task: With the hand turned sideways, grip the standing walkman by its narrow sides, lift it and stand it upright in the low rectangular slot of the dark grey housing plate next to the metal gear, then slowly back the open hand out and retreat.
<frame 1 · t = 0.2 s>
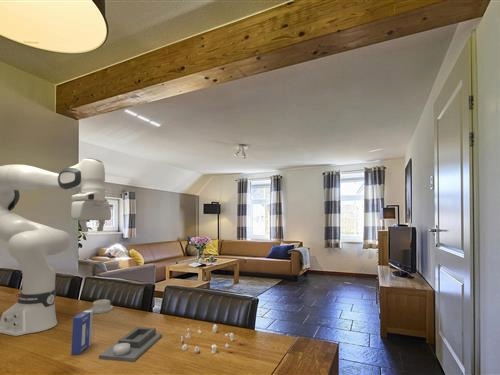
hand: (92, 231, 122), 39 cm above the table, tool pointing down, fingers open, 8 cm apart
mechanical component: (101, 311, 144), on the table
housing: (133, 346, 105), on the table
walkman: (81, 350, 103), on the table
game piece set: (206, 343, 109), on the table
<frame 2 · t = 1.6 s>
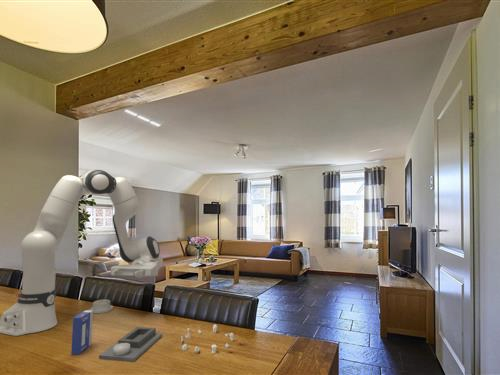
hand: (124, 274, 128), 20 cm above the table, tool horizontal, fingers open, 8 cm apart
nothing on the table moved.
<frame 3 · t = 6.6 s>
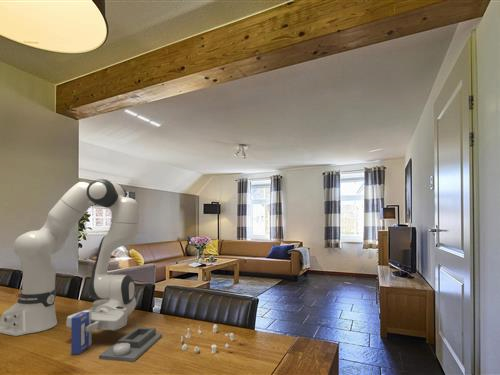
hand: (80, 328, 103), 7 cm above the table, tool horizontal, fingers closed on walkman, 2 cm apart
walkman: (81, 349, 103), on the table, touching gripper
everything else where it was.
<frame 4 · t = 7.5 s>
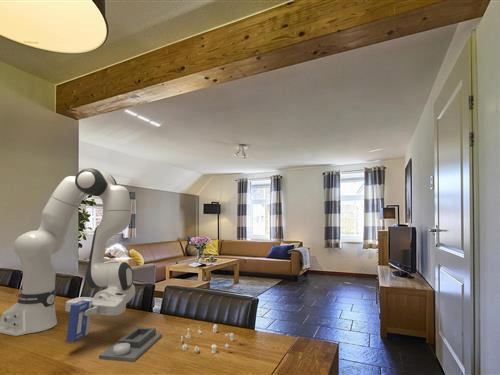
hand: (79, 313, 103), 12 cm above the table, tool horizontal, fingers closed on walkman
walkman: (77, 337, 103), point 4 cm above the table, touching gripper
everything else where it was.
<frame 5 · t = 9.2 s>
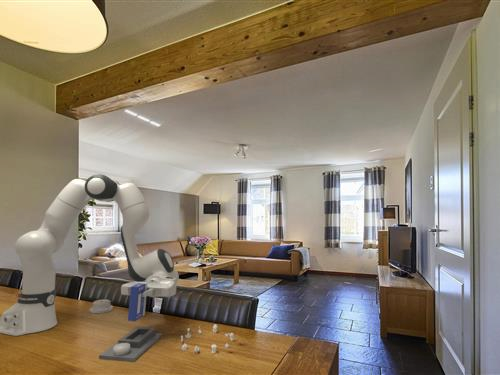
hand: (138, 294, 109), 17 cm above the table, tool horizontal, fingers closed on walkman
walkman: (136, 318, 109), point 8 cm above the table, touching gripper
everything else where it was.
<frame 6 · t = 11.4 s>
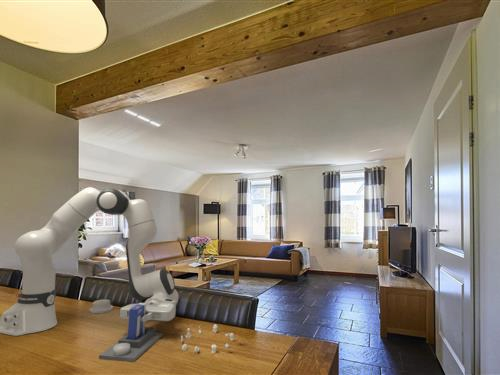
hand: (137, 319, 108), 8 cm above the table, tool horizontal, fingers closed on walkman, 2 cm apart
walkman: (135, 340, 108), point 1 cm above the table, touching gripper, housing
everything else where it was.
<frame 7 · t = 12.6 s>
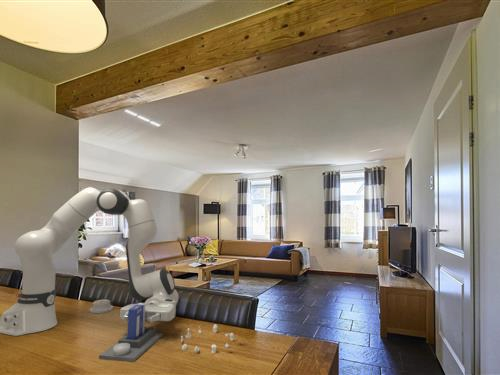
hand: (137, 319, 108), 8 cm above the table, tool horizontal, fingers open, 8 cm apart
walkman: (135, 340, 108), point 1 cm above the table, touching housing
everything else where it was.
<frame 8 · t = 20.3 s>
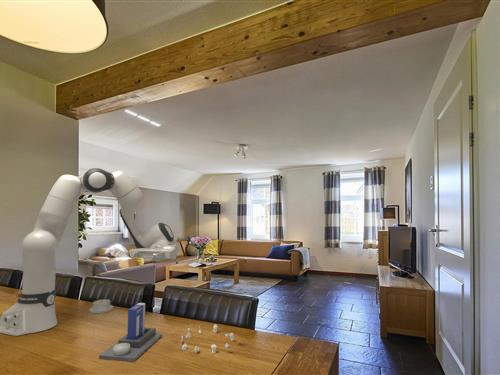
hand: (144, 255, 130), 28 cm above the table, tool horizontal, fingers open, 8 cm apart
nothing on the table moved.
at the end: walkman 0.7 cm from the target spot on the housing, point 0.8 cm above the housing's base; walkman tilted 0°; the gripper is holding nothing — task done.
